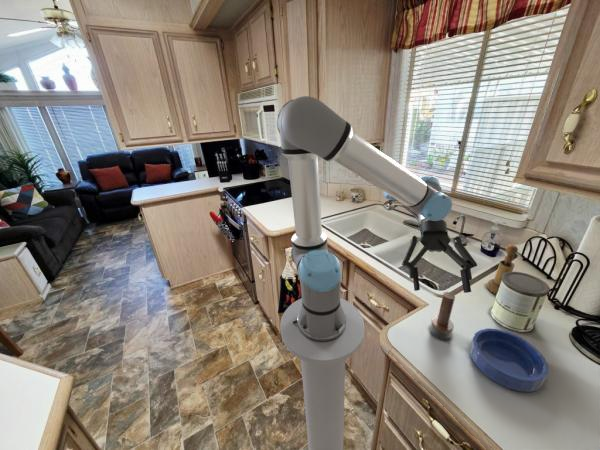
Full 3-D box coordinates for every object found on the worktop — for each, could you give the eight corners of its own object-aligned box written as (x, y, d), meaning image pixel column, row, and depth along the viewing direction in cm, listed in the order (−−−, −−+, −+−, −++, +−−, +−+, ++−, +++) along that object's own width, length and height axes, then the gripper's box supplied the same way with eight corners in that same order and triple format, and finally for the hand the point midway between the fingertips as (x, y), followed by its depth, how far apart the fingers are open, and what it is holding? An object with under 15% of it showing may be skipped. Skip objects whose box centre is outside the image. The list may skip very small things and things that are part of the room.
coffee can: (489, 302, 83) (501, 267, 77) (530, 314, 77) (546, 277, 72) (490, 323, 75) (503, 286, 69) (535, 337, 70) (554, 298, 64)
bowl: (487, 390, 58) (492, 377, 56) (459, 338, 71) (462, 327, 69) (558, 396, 56) (566, 383, 54) (516, 341, 69) (521, 330, 67)
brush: (433, 340, 71) (442, 302, 65) (427, 324, 76) (434, 288, 70) (454, 341, 70) (465, 303, 65) (446, 325, 75) (455, 289, 70)
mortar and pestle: (513, 291, 87) (530, 247, 80) (504, 298, 84) (520, 253, 77) (492, 281, 92) (506, 239, 85) (483, 288, 90) (496, 244, 82)
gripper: (394, 218, 77) (399, 287, 70) (481, 218, 73) (497, 291, 66) (389, 226, 84) (394, 290, 77) (469, 226, 80) (482, 294, 73)
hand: (441, 291), depth 71 cm, fingers open, 13 cm apart
